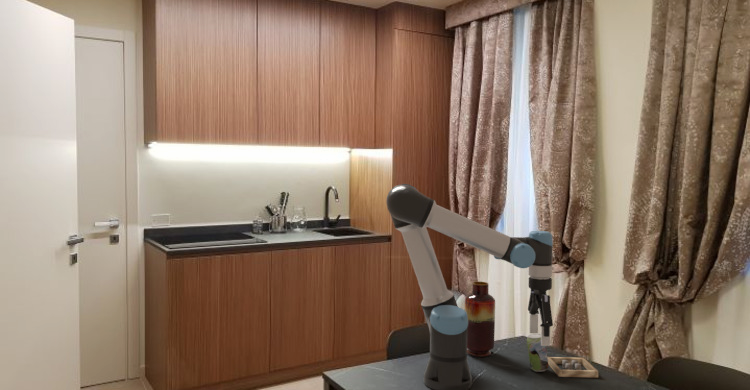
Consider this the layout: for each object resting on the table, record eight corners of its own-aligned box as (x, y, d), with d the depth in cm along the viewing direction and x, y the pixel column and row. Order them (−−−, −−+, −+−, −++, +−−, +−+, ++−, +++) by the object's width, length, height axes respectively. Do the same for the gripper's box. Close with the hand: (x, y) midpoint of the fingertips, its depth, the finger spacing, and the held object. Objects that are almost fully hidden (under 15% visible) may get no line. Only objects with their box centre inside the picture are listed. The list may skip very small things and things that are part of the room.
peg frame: (558, 376, 176) (558, 369, 176) (546, 362, 189) (546, 355, 189) (598, 377, 176) (598, 370, 176) (583, 363, 189) (583, 356, 189)
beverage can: (549, 374, 178) (550, 338, 178) (526, 372, 180) (527, 337, 179) (547, 367, 184) (548, 333, 184) (525, 365, 186) (526, 331, 185)
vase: (498, 351, 200) (500, 282, 199) (487, 360, 191) (489, 287, 189) (470, 346, 206) (472, 278, 205) (458, 354, 196) (460, 283, 195)
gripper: (563, 284, 168) (562, 351, 169) (540, 270, 193) (539, 328, 194) (539, 284, 168) (538, 351, 169) (519, 270, 193) (518, 328, 194)
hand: (539, 339), depth 181 cm, fingers open, 13 cm apart
